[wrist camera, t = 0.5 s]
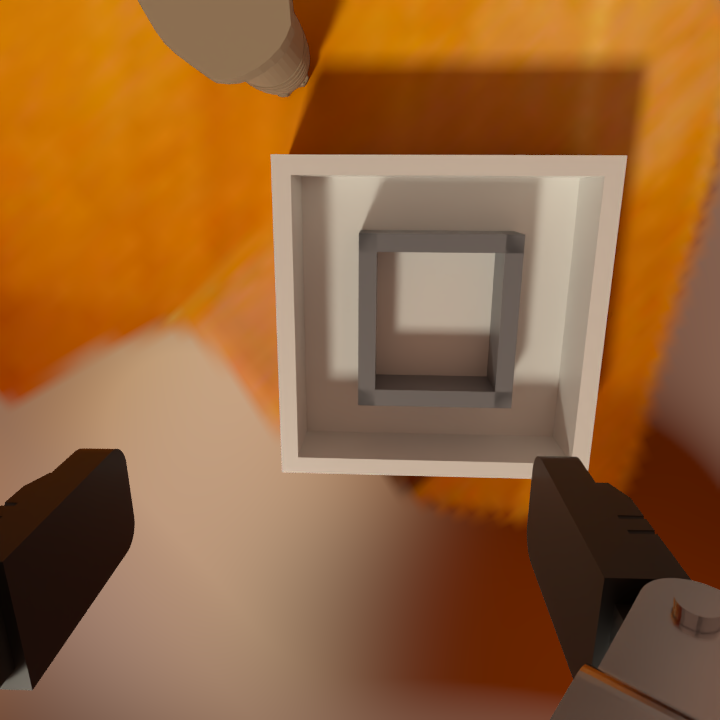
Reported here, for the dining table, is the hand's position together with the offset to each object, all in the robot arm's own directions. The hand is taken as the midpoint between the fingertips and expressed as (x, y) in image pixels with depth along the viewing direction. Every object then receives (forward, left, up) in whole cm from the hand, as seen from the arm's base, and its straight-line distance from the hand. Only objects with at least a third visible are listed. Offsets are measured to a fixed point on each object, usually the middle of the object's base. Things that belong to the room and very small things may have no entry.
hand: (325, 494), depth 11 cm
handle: (-13, -5, -27) cm, 30 cm away
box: (+1, +4, -26) cm, 27 cm away
